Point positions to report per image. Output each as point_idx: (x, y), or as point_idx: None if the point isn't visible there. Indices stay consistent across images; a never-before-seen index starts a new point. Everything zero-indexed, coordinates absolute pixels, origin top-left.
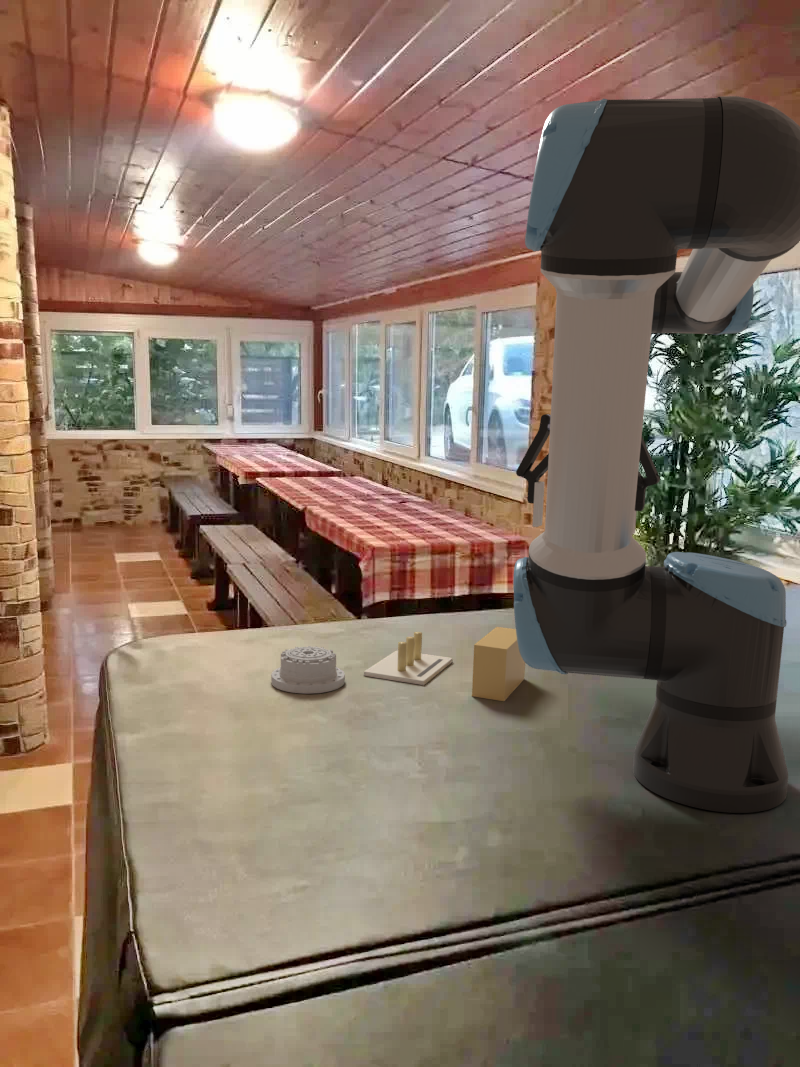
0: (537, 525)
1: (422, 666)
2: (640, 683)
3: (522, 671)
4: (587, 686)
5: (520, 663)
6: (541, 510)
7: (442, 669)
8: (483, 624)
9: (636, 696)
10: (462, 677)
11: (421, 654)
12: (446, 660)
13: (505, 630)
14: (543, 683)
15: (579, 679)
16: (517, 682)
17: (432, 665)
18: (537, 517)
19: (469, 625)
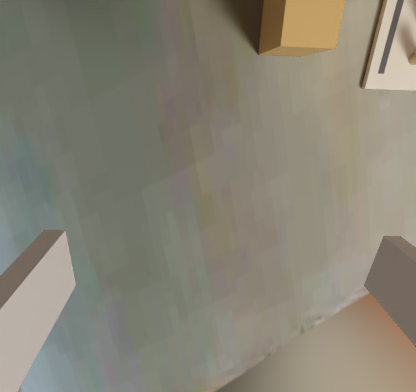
0: (387, 239)
1: (406, 23)
2: (111, 110)
3: (263, 37)
4: (172, 62)
5: (270, 15)
6: (409, 311)
7: (373, 41)
8: (333, 264)
9: (101, 46)
10: (342, 19)
11: (408, 85)
12: (372, 72)
13: (318, 26)
14: (230, 46)
15: (188, 90)
16: (264, 7)
17: (392, 34)
18: (411, 256)
19: (349, 253)
